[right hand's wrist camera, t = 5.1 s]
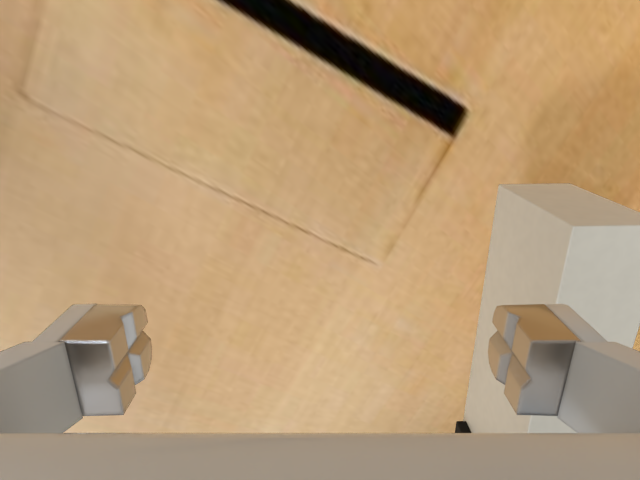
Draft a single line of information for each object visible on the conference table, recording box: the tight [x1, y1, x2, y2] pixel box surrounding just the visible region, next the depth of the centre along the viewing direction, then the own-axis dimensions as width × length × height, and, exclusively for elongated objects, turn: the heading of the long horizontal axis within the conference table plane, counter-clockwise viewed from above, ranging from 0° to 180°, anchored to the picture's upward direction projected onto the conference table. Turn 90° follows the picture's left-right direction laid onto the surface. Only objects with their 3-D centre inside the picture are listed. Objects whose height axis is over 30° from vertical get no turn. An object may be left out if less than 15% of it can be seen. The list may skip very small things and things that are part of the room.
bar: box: [463, 183, 640, 433], centre depth 28 cm, size 24×5×8 cm, turn 0°
